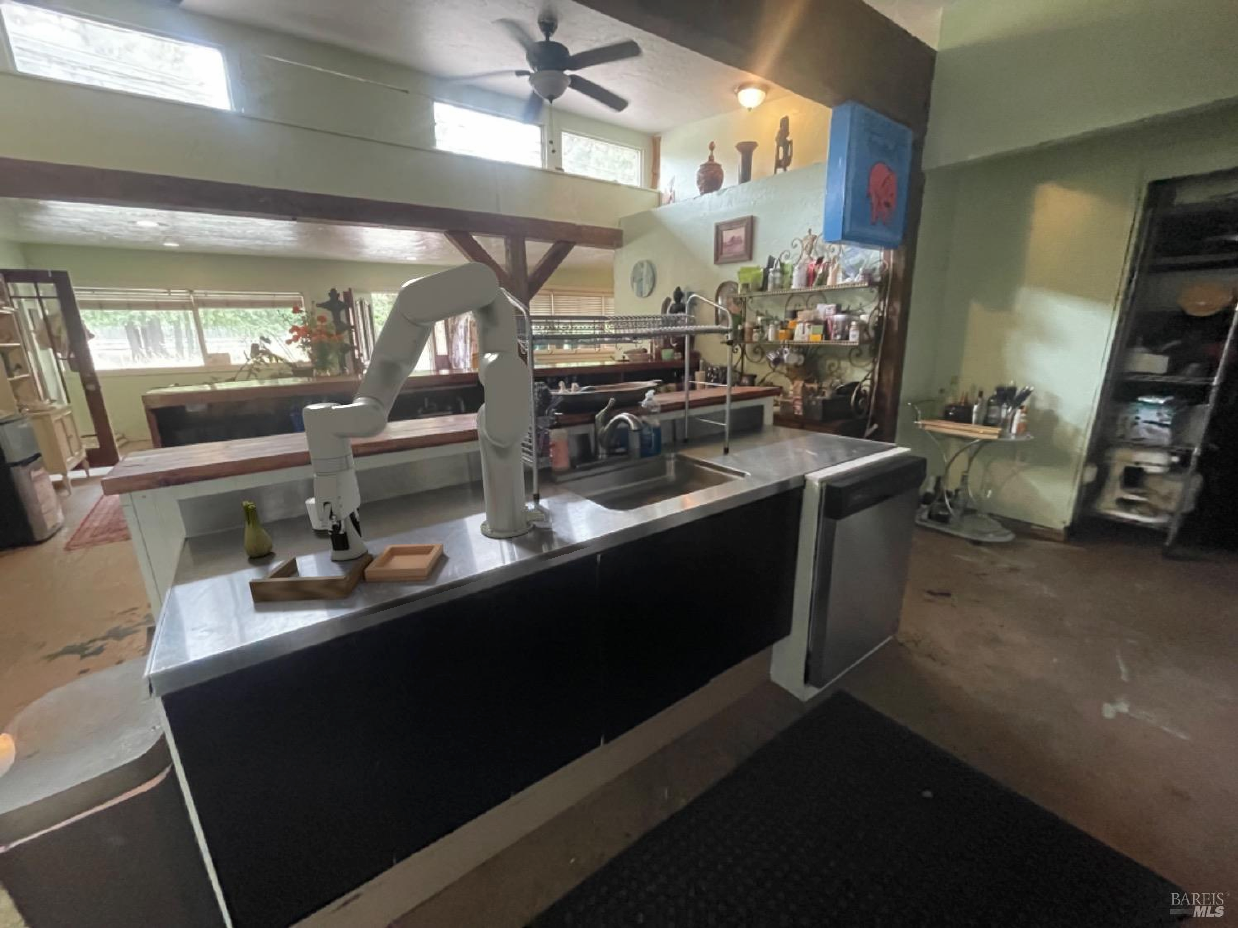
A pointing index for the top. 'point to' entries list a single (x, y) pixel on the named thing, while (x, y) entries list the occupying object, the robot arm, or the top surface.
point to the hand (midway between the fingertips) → (347, 543)
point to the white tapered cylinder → (314, 514)
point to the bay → (306, 583)
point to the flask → (350, 543)
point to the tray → (404, 562)
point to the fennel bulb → (255, 533)
